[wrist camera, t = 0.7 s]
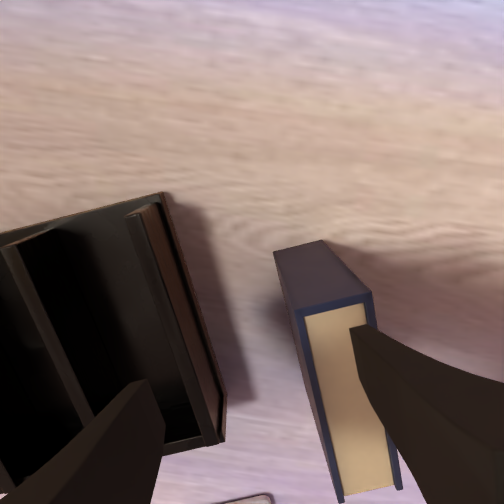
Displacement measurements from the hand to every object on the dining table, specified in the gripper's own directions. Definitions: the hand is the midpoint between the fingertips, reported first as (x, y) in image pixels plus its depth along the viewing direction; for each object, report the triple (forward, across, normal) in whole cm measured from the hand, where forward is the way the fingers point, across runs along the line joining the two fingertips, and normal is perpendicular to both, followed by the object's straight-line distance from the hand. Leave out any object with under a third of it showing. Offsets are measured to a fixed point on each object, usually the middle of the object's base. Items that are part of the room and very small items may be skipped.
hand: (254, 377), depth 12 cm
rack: (+10, +13, 0) cm, 16 cm away
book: (+10, -3, +4) cm, 11 cm away
